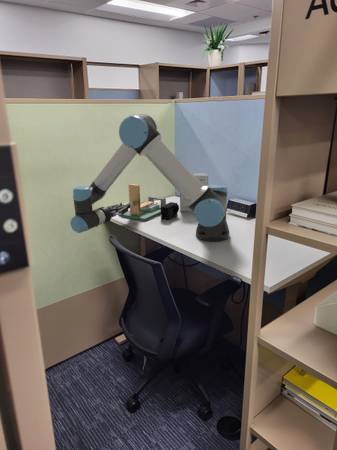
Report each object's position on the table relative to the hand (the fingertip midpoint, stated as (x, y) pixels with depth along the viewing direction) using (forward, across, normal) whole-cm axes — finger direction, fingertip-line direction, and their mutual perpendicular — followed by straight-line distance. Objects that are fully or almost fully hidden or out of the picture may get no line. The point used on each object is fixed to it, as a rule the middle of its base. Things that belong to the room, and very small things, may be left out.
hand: (131, 204), depth 180 cm
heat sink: (+14, +1, -6) cm, 16 cm away
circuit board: (+12, +1, -8) cm, 14 cm away
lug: (+22, +1, -6) cm, 23 cm away
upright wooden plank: (+8, +1, -6) cm, 10 cm away
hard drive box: (+30, +20, -8) cm, 37 cm away
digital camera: (+11, +16, -8) cm, 22 cm away
